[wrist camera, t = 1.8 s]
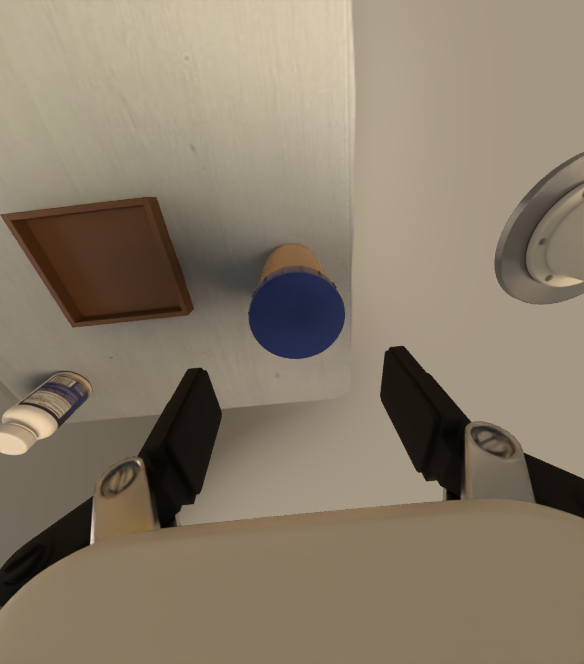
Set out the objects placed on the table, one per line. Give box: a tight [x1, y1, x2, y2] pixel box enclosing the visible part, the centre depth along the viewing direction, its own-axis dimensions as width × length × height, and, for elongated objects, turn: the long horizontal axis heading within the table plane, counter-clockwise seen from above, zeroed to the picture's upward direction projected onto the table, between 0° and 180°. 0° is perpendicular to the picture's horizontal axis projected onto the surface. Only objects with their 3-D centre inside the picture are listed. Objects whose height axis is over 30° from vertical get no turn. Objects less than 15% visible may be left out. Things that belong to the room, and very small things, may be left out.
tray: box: [1, 197, 194, 327], centre depth 26 cm, size 14×12×2 cm
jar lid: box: [248, 265, 345, 359], centre depth 17 cm, size 7×7×2 cm
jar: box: [259, 244, 328, 284], centre depth 22 cm, size 7×7×12 cm
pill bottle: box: [0, 372, 92, 455], centre depth 30 cm, size 5×5×10 cm
